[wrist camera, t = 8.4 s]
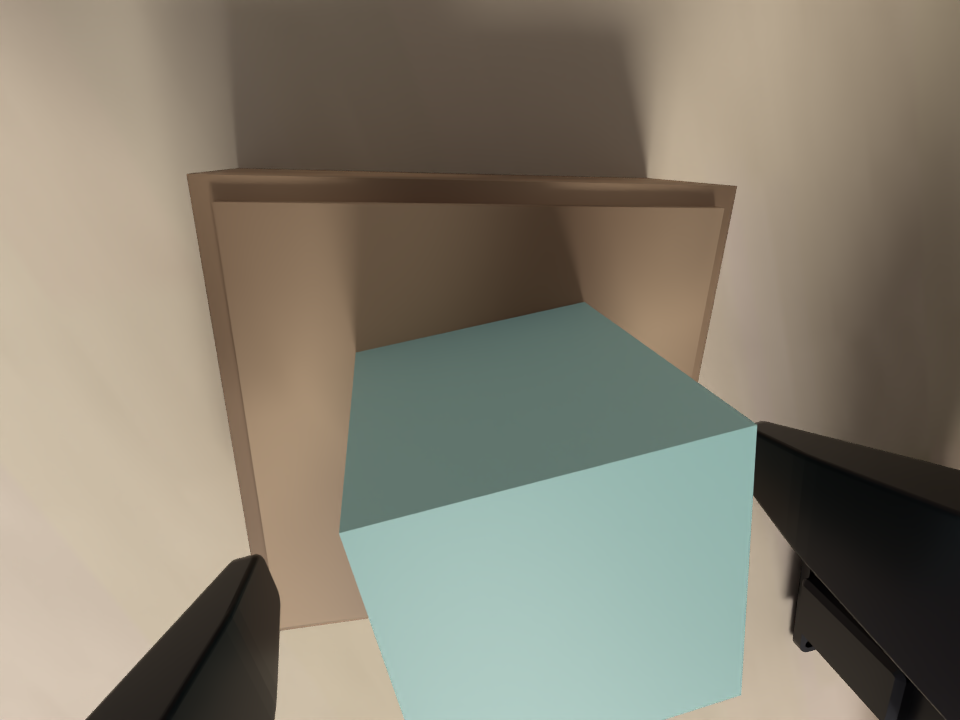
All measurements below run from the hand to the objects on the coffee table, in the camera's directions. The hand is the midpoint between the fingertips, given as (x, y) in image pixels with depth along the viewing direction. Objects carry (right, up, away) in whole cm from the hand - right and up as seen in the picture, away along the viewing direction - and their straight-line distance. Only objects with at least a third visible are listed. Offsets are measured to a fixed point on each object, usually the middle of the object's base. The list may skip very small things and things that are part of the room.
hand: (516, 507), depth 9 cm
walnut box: (-1, +2, +6) cm, 7 cm away
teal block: (0, +1, +2) cm, 2 cm away
